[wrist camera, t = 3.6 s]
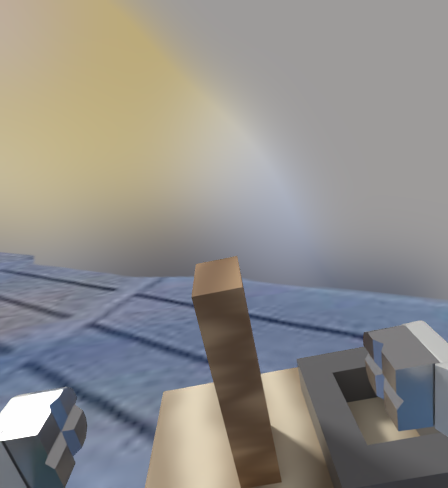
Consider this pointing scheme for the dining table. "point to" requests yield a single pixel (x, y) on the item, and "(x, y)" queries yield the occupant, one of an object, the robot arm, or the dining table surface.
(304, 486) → the birch board
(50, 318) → the dining table surface
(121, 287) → the dining table surface
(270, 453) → the walnut slat
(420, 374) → the robot arm
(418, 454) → the rectangular frame
